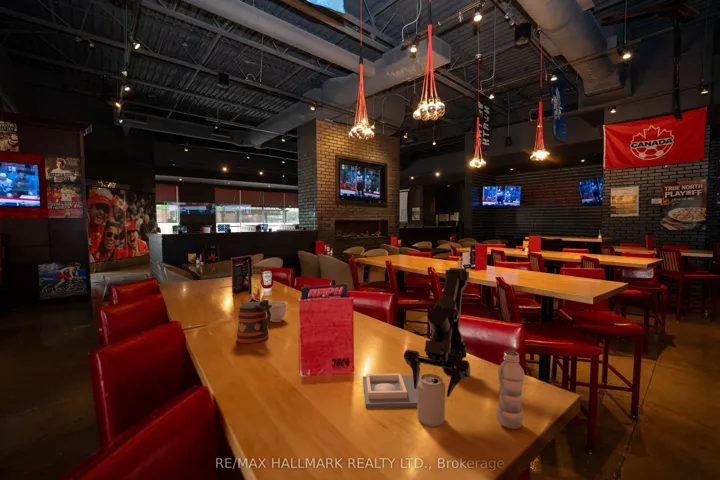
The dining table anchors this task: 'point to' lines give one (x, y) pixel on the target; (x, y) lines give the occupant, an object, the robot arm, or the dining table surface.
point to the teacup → (277, 310)
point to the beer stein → (253, 321)
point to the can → (431, 400)
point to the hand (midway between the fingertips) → (431, 392)
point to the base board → (389, 391)
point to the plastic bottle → (510, 391)
